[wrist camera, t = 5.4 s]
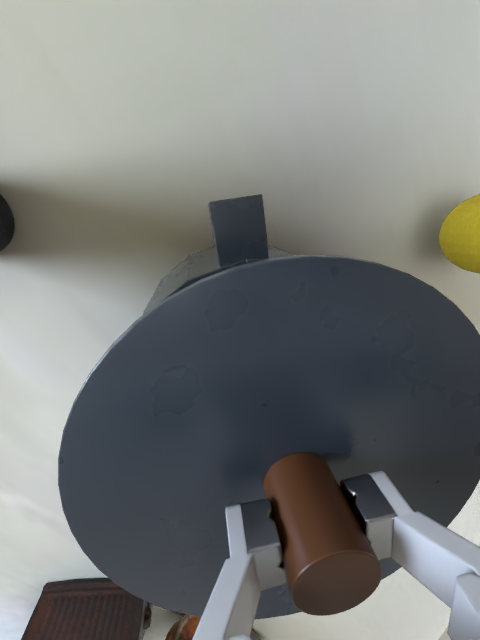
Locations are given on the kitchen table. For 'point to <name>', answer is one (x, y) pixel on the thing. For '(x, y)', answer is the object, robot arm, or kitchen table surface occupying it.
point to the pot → (223, 245)
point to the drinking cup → (5, 223)
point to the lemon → (463, 235)
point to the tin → (190, 629)
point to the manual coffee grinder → (88, 612)
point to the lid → (271, 428)
